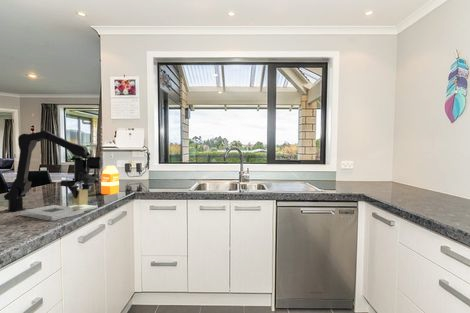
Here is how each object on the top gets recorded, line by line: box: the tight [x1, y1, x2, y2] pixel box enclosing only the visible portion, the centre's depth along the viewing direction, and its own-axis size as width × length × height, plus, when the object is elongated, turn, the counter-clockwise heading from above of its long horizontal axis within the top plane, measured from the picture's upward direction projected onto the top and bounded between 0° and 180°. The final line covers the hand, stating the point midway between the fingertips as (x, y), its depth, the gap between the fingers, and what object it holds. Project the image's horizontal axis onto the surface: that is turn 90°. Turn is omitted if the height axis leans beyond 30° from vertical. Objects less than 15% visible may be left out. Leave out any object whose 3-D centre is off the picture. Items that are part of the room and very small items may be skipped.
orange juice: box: [100, 165, 120, 195], centre depth 192 cm, size 8×9×20 cm
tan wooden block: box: [72, 188, 89, 206], centre depth 143 cm, size 5×5×8 cm
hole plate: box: [20, 204, 85, 222], centre depth 130 cm, size 22×16×2 cm
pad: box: [67, 204, 97, 212], centre depth 143 cm, size 12×10×1 cm
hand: (80, 197), depth 143 cm, fingers closed on tan wooden block, 5 cm apart
